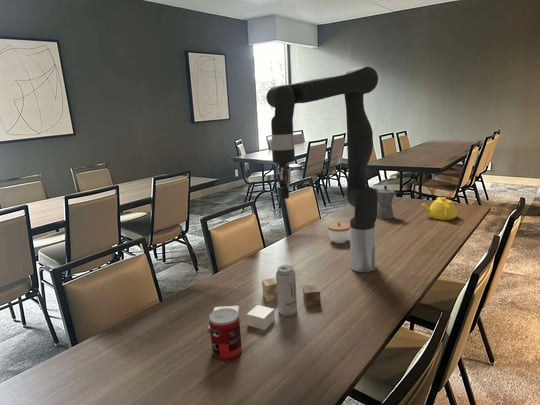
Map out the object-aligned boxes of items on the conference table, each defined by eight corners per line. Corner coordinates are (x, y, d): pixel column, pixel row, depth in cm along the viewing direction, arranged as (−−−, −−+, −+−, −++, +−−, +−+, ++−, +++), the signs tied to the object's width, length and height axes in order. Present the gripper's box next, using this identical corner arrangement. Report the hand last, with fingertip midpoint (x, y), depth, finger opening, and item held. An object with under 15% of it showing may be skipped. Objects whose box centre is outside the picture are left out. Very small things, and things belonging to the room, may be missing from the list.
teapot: (416, 212, 219) (417, 194, 216) (450, 212, 216) (451, 193, 213) (425, 223, 199) (426, 202, 197) (462, 222, 197) (464, 201, 194)
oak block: (276, 292, 135) (275, 277, 133) (281, 299, 130) (280, 283, 128) (263, 295, 133) (261, 280, 132) (267, 302, 128) (266, 286, 127)
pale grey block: (274, 320, 117) (274, 308, 116) (264, 330, 112) (263, 318, 111) (258, 316, 120) (257, 304, 119) (247, 325, 115) (246, 314, 114)
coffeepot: (400, 216, 212) (400, 185, 208) (391, 221, 206) (392, 188, 202) (375, 212, 223) (375, 182, 219) (366, 216, 217) (366, 185, 213)
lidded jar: (325, 244, 178) (325, 225, 176) (330, 236, 188) (330, 218, 185) (348, 246, 174) (348, 226, 172) (352, 238, 184) (352, 219, 181)
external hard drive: (208, 332, 114) (214, 311, 126) (235, 331, 114) (239, 309, 126) (208, 327, 114) (214, 306, 126) (235, 326, 113) (238, 305, 125)
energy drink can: (291, 318, 117) (289, 273, 114) (274, 314, 121) (271, 270, 117) (300, 309, 122) (298, 266, 119) (284, 305, 125) (281, 263, 122)
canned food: (213, 344, 107) (209, 309, 104) (241, 341, 107) (238, 306, 105) (211, 362, 99) (207, 324, 97) (242, 358, 100) (238, 321, 97)
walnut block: (318, 298, 129) (317, 284, 128) (320, 305, 124) (320, 291, 123) (303, 299, 129) (302, 285, 128) (305, 306, 124) (304, 292, 123)
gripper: (291, 149, 120) (293, 203, 124) (297, 145, 132) (299, 193, 136) (267, 150, 121) (271, 203, 126) (275, 146, 134) (278, 194, 138)
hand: (285, 198), depth 131 cm, fingers closed
